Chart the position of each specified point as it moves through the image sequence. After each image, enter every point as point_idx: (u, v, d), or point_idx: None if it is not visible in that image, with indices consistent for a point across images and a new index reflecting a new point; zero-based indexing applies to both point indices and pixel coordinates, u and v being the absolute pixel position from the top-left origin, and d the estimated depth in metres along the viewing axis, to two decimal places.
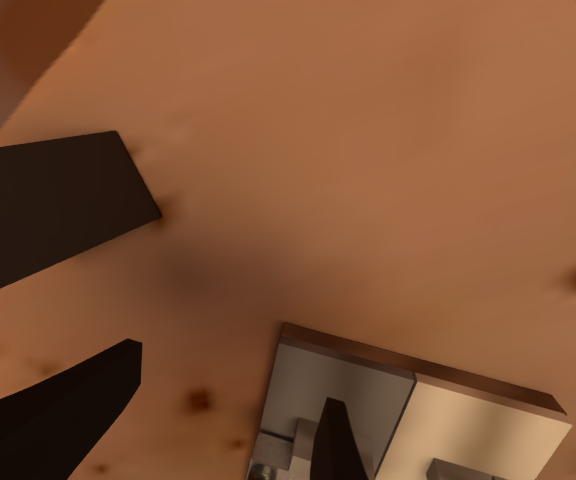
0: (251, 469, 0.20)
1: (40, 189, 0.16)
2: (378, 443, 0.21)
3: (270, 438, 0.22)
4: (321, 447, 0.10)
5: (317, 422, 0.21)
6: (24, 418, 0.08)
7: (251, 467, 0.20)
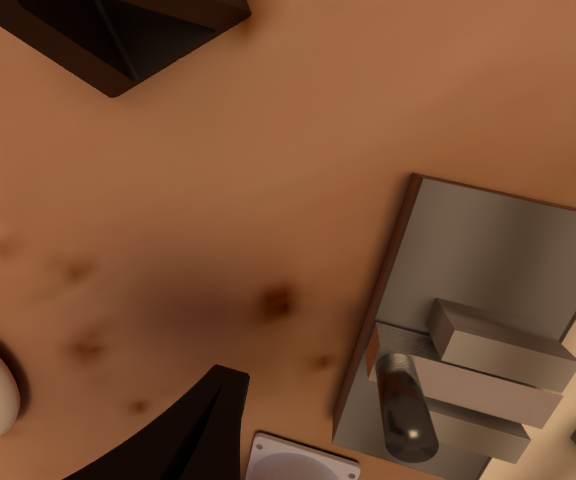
0: (381, 360, 0.14)
1: None
2: (550, 331, 0.15)
3: (394, 329, 0.16)
4: None
5: (463, 303, 0.16)
6: (160, 462, 0.07)
7: (380, 358, 0.15)
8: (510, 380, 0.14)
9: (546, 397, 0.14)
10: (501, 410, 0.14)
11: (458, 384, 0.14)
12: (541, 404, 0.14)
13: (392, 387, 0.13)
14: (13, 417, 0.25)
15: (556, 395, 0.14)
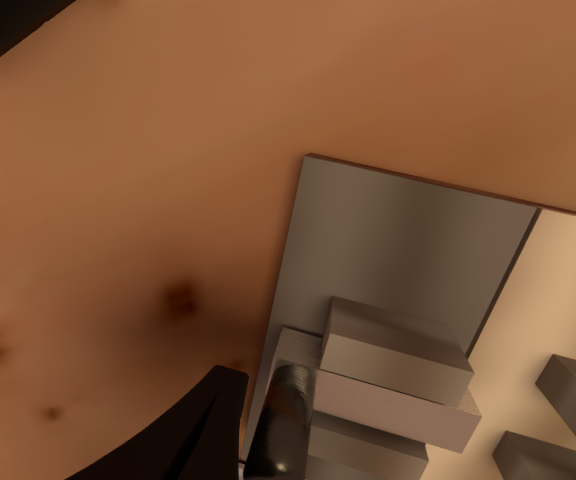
0: (275, 373, 0.12)
1: None
2: (460, 334, 0.13)
3: (302, 335, 0.14)
4: None
5: (362, 302, 0.14)
6: (160, 463, 0.07)
7: (274, 371, 0.12)
8: None
9: (464, 417, 0.12)
10: (414, 431, 0.12)
11: (364, 401, 0.12)
12: (458, 425, 0.12)
13: (270, 407, 0.10)
14: None
15: (474, 415, 0.12)
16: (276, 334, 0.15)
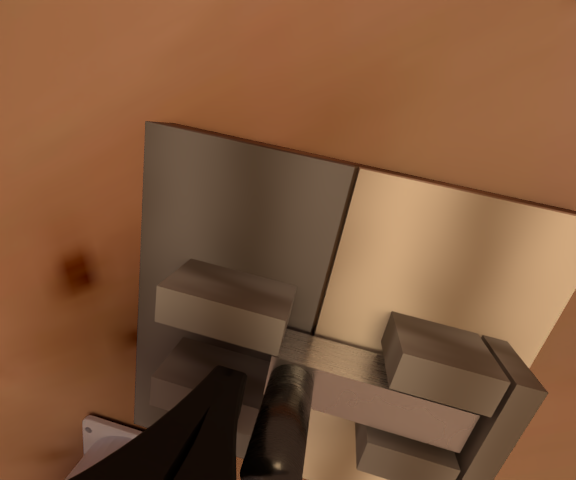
0: (273, 372, 0.12)
1: None
2: (308, 293, 0.14)
3: (300, 335, 0.14)
4: None
5: (217, 264, 0.14)
6: (162, 464, 0.07)
7: (272, 370, 0.12)
8: None
9: (461, 416, 0.12)
10: (412, 431, 0.12)
11: (362, 400, 0.12)
12: (456, 424, 0.12)
13: (267, 407, 0.11)
14: None
15: (472, 414, 0.12)
16: (147, 298, 0.15)
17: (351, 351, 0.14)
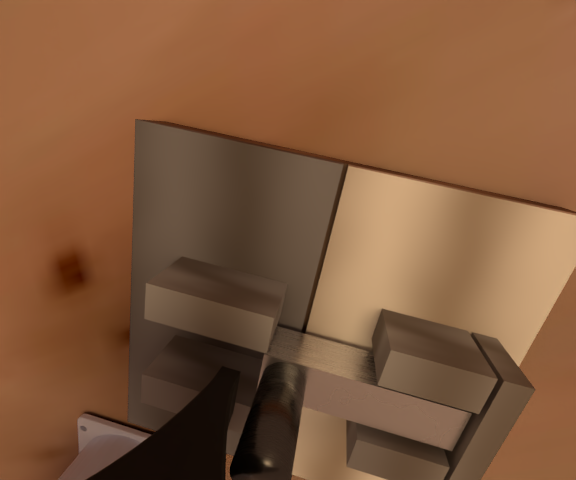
0: (265, 370, 0.12)
1: None
2: (298, 291, 0.14)
3: (293, 333, 0.14)
4: None
5: (208, 262, 0.14)
6: (172, 467, 0.07)
7: (265, 368, 0.12)
8: None
9: (454, 414, 0.12)
10: (405, 429, 0.12)
11: (354, 398, 0.12)
12: (448, 422, 0.12)
13: (258, 404, 0.11)
14: None
15: (464, 412, 0.12)
16: (139, 296, 0.16)
17: (344, 349, 0.14)
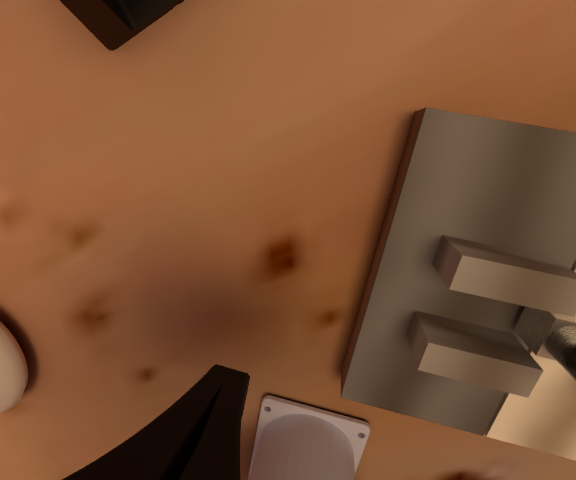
0: (558, 333, 0.13)
1: None
2: (559, 264, 0.15)
3: None
4: None
5: (469, 240, 0.15)
6: (159, 463, 0.07)
7: (554, 332, 0.14)
8: None
9: None
10: None
11: None
12: None
13: None
14: (21, 388, 0.25)
15: None
16: (386, 275, 0.17)
17: None
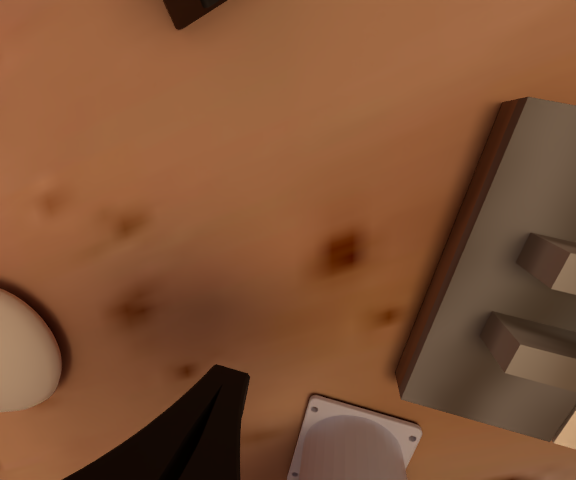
0: None
1: None
2: None
3: None
4: None
5: (560, 238, 0.15)
6: (159, 463, 0.07)
7: None
8: None
9: None
10: None
11: None
12: None
13: None
14: (55, 382, 0.24)
15: None
16: (464, 273, 0.16)
17: None
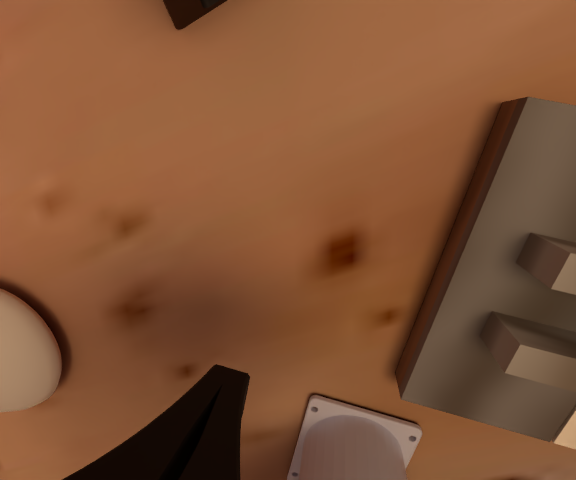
0: None
1: None
2: None
3: None
4: None
5: (560, 238, 0.15)
6: (159, 463, 0.07)
7: None
8: None
9: None
10: None
11: None
12: None
13: None
14: (55, 382, 0.24)
15: None
16: (464, 273, 0.16)
17: None
